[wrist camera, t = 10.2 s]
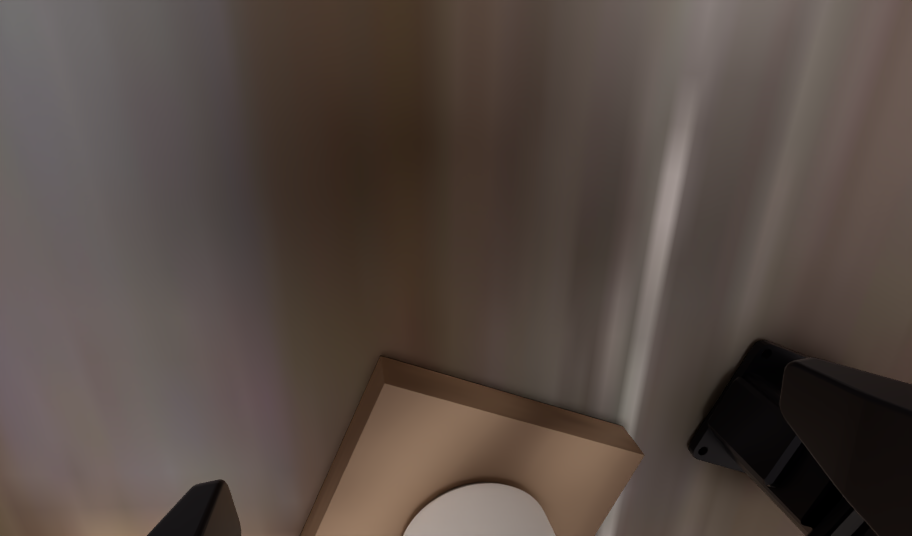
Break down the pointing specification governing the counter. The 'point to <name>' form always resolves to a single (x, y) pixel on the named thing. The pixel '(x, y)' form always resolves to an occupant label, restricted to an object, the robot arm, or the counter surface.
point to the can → (481, 513)
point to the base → (466, 455)
